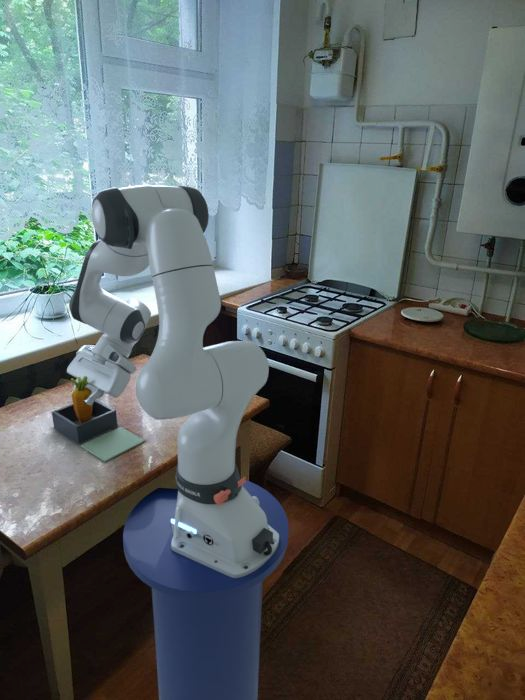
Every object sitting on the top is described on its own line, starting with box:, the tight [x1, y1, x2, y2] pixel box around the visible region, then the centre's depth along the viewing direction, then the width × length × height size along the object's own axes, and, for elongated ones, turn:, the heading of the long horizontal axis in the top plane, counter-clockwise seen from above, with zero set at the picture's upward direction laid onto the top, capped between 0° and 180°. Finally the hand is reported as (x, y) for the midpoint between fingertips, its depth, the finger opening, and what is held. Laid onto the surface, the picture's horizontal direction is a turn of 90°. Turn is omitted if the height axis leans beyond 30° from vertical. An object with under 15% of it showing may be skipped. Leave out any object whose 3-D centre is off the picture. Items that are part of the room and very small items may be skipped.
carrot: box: [70, 376, 93, 424], centre depth 129 cm, size 5×5×15 cm
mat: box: [80, 426, 146, 463], centre depth 125 cm, size 10×12×1 cm
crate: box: [51, 399, 118, 445], centre depth 131 cm, size 12×12×5 cm
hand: (80, 400), depth 128 cm, fingers closed on carrot, 4 cm apart
